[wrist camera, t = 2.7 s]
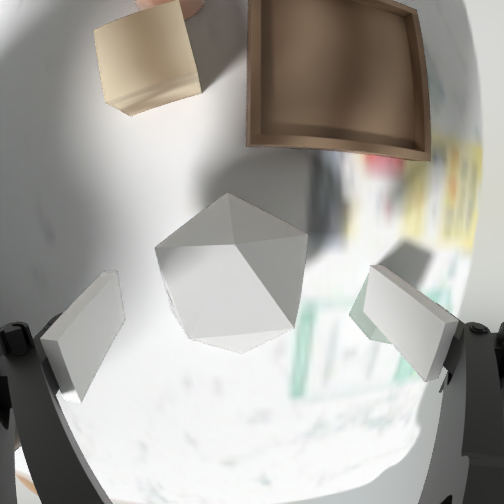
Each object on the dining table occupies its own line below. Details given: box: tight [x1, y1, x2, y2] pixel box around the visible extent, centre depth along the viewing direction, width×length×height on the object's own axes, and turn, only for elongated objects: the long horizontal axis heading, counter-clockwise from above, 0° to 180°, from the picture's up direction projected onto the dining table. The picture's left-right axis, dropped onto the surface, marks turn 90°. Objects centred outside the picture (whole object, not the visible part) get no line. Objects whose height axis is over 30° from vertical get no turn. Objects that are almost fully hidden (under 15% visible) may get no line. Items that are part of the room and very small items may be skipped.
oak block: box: [93, 0, 202, 116], centre depth 14 cm, size 5×5×5 cm
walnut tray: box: [246, 0, 431, 161], centre depth 16 cm, size 13×13×2 cm
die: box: [155, 192, 309, 354], centre depth 17 cm, size 8×9×10 cm
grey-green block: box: [349, 273, 392, 344], centre depth 21 cm, size 4×4×4 cm
